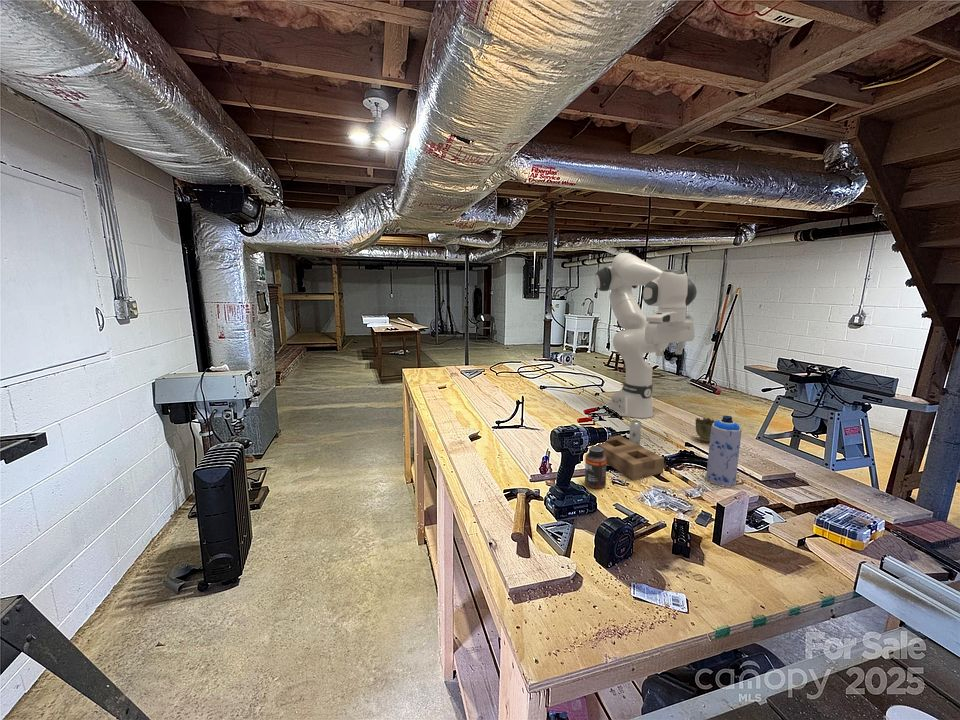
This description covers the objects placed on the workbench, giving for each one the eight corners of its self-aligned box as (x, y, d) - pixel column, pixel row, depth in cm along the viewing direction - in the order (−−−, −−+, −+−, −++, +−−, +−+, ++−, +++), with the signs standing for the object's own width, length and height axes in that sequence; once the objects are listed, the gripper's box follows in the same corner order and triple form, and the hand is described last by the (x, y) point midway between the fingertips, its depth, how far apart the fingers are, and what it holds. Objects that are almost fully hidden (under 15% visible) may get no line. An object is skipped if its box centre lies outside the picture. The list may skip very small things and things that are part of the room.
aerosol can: (734, 477, 115) (742, 414, 112) (737, 489, 109) (745, 422, 105) (704, 471, 119) (711, 410, 115) (705, 483, 112) (712, 418, 108)
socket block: (591, 453, 133) (591, 440, 132) (618, 448, 137) (619, 435, 136) (632, 480, 115) (633, 464, 114) (663, 472, 119) (664, 457, 118)
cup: (710, 437, 146) (712, 417, 144) (720, 445, 139) (722, 424, 137) (690, 436, 147) (692, 417, 145) (699, 444, 139) (701, 423, 138)
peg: (626, 444, 141) (628, 421, 139) (634, 442, 142) (636, 419, 140) (633, 448, 137) (635, 424, 136) (641, 446, 139) (643, 423, 137)
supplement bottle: (605, 481, 114) (607, 445, 112) (605, 491, 109) (607, 454, 107) (585, 478, 116) (586, 443, 114) (583, 487, 111) (585, 451, 109)
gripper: (685, 314, 141) (682, 351, 143) (642, 317, 133) (640, 355, 136) (700, 315, 135) (697, 354, 137) (656, 317, 127) (654, 358, 130)
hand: (668, 355), depth 136 cm, fingers open, 8 cm apart
